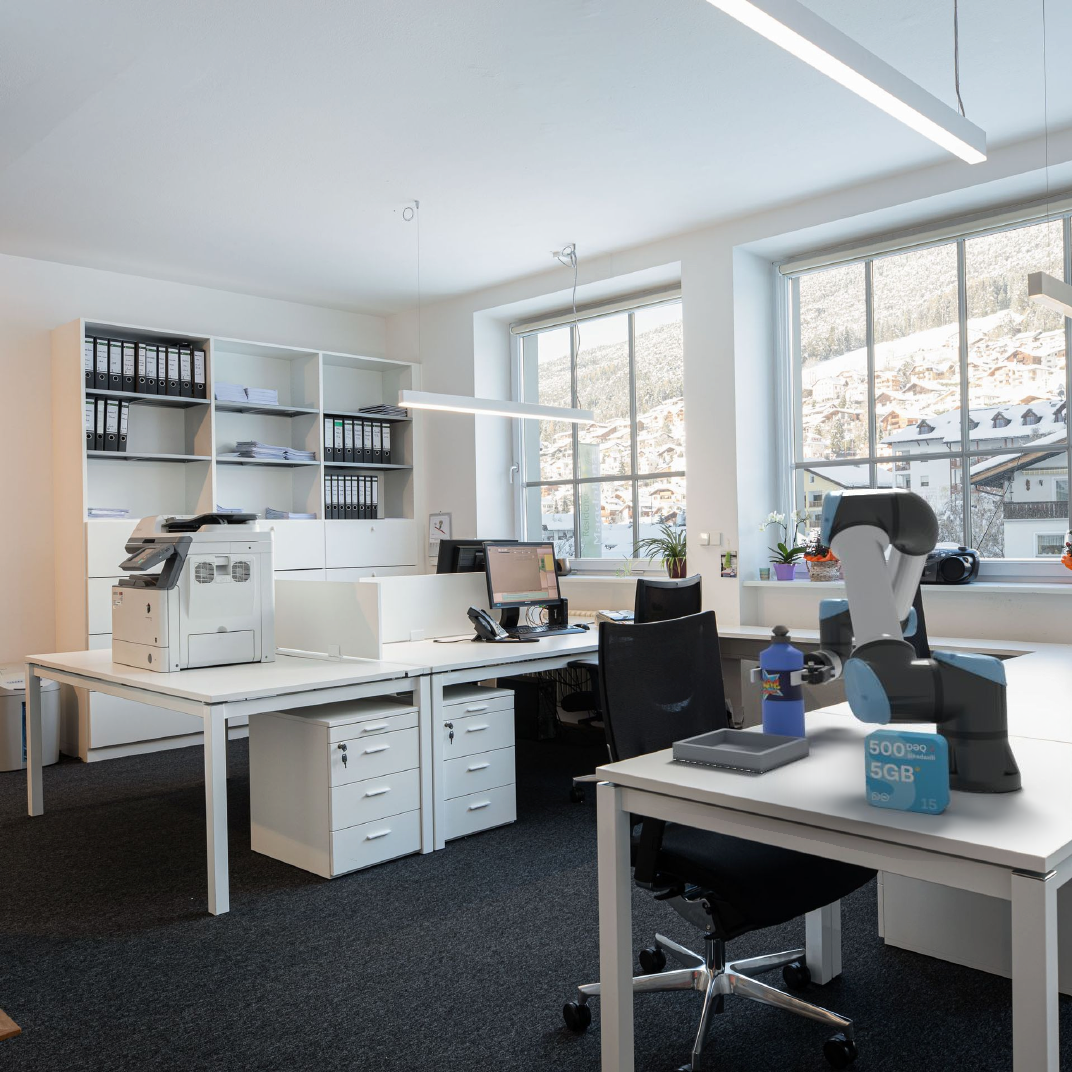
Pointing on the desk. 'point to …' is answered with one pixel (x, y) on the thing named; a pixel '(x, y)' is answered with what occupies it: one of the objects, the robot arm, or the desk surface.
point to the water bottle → (782, 687)
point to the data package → (907, 771)
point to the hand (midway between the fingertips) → (771, 677)
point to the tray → (741, 749)
